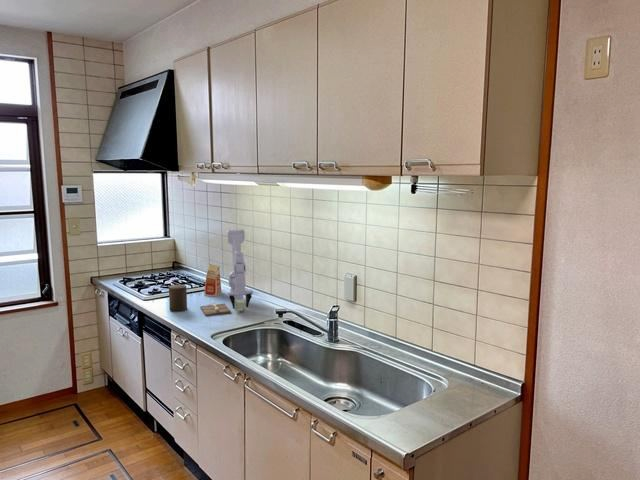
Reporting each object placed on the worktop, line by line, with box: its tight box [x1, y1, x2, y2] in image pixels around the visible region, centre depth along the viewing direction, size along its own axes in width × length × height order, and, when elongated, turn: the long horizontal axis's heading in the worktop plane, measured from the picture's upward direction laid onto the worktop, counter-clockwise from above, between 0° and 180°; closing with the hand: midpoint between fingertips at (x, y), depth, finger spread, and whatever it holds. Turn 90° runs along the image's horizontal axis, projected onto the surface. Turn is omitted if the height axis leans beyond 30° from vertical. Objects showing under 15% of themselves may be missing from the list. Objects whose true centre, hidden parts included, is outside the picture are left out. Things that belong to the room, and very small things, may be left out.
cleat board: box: [200, 302, 232, 317], centre depth 275 cm, size 16×14×3 cm
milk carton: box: [204, 263, 222, 297], centre depth 308 cm, size 9×9×20 cm
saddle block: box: [234, 298, 247, 314], centre depth 274 cm, size 6×5×6 cm
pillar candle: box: [168, 284, 188, 313], centre depth 276 cm, size 10×10×15 cm
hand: (240, 307), depth 274 cm, fingers open, 7 cm apart
